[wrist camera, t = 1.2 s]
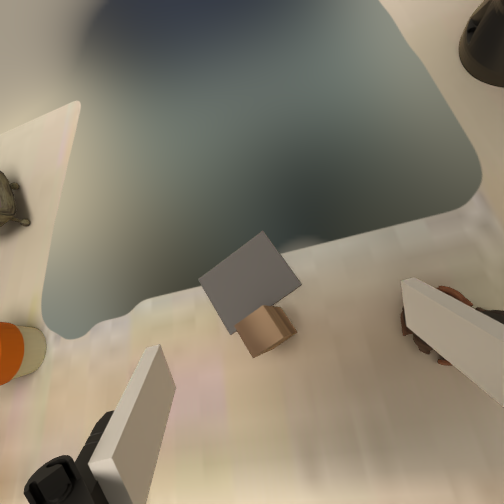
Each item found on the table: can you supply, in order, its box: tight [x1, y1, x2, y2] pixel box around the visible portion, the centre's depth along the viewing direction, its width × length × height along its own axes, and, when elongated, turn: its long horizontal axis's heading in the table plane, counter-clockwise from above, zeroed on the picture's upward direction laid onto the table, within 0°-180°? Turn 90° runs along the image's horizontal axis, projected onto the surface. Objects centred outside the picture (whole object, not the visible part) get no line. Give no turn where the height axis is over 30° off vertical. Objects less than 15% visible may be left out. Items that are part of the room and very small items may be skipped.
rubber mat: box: [198, 231, 302, 335], centre depth 49 cm, size 14×11×1 cm
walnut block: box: [234, 305, 297, 358], centre depth 41 cm, size 4×4×11 cm
